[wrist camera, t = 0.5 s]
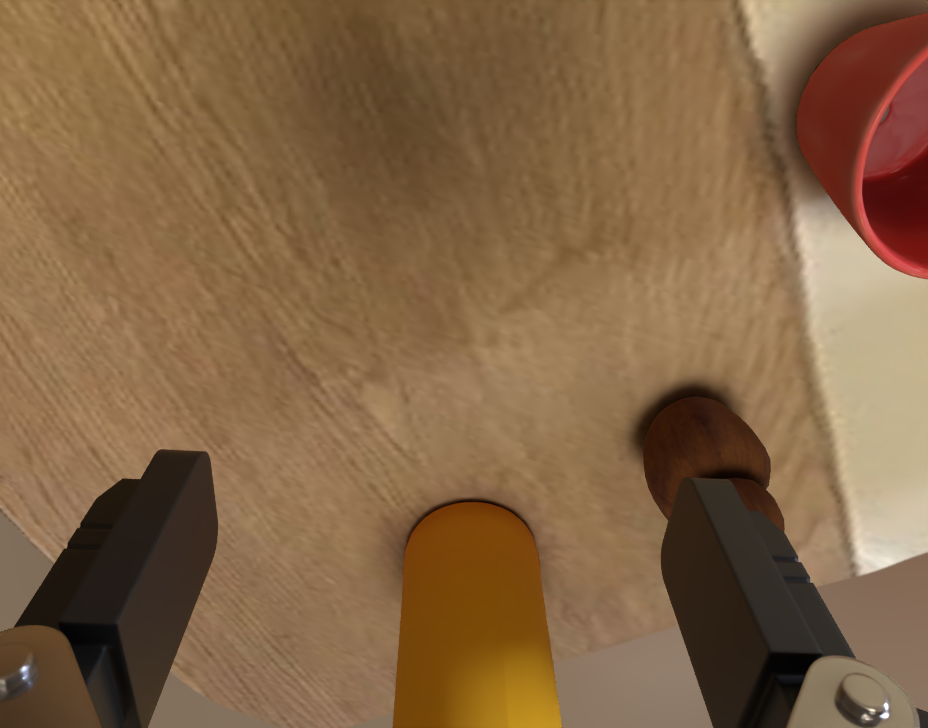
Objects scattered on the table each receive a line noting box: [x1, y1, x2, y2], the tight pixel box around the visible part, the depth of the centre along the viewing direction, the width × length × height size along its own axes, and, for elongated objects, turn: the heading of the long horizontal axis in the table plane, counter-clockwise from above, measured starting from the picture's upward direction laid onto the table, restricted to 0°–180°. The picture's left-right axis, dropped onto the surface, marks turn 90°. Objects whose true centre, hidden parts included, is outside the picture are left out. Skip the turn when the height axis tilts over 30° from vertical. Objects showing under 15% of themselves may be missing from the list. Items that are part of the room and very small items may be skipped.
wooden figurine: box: [643, 396, 784, 532], centre depth 40 cm, size 7×6×15 cm
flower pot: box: [797, 13, 928, 279], centre depth 32 cm, size 11×11×10 cm
